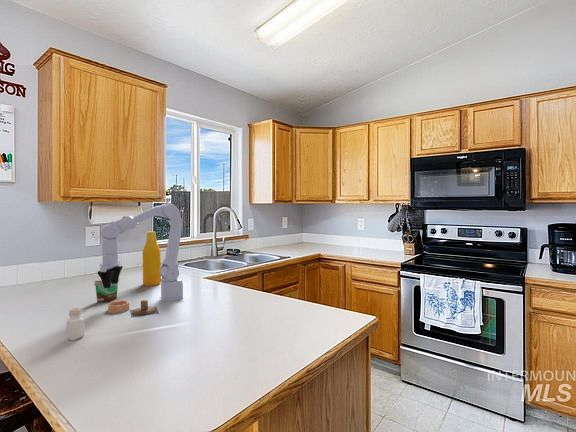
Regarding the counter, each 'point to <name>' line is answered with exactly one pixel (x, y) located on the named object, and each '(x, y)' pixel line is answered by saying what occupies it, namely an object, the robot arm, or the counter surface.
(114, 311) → the bowl
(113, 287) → the food container
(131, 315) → the mat
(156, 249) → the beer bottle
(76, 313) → the salt shaker
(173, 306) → the counter surface
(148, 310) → the lid
